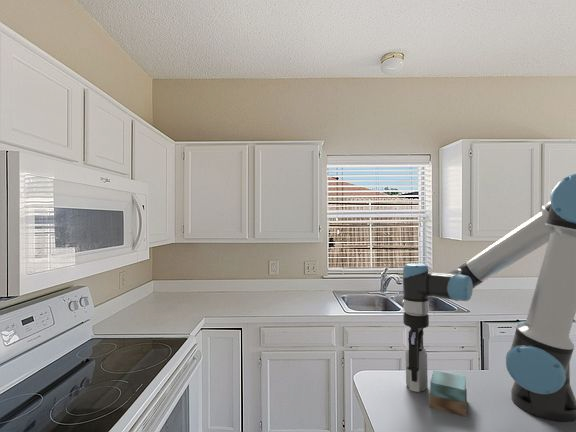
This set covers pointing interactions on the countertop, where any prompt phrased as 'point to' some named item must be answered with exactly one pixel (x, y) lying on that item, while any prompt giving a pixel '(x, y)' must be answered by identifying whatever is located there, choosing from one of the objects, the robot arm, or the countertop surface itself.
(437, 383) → the teal and brown block
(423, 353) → the beverage can
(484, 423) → the countertop surface
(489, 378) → the countertop surface
